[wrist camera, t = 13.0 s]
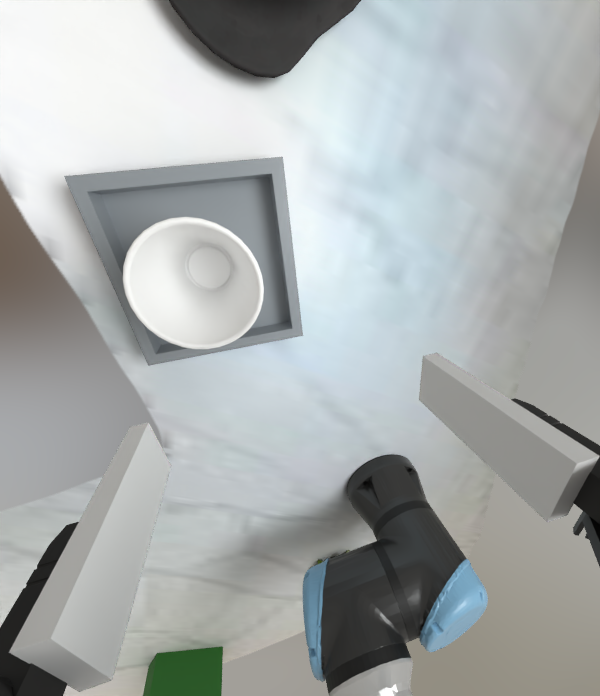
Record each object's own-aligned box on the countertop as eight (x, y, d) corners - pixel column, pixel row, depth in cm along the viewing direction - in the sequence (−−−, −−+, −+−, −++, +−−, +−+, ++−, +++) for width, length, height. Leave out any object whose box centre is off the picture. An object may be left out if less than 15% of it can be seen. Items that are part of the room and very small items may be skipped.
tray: (297, 325, 36) (302, 335, 33) (156, 352, 33) (148, 365, 30) (277, 163, 27) (282, 156, 24) (85, 181, 24) (64, 176, 21)
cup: (240, 320, 32) (242, 362, 23) (153, 294, 29) (112, 330, 19) (266, 241, 29) (282, 251, 20) (172, 201, 26) (134, 188, 16)
